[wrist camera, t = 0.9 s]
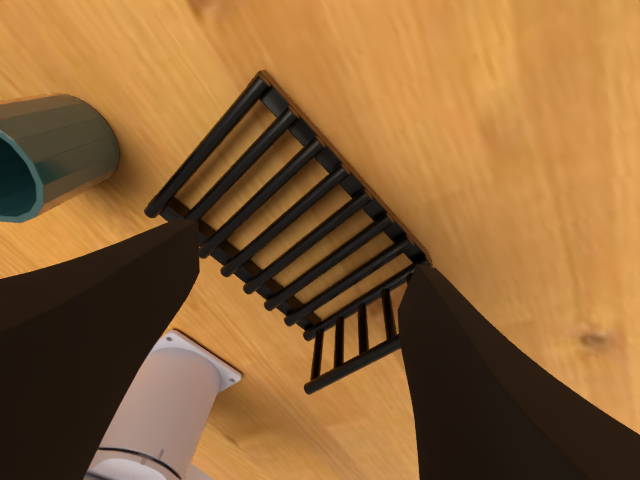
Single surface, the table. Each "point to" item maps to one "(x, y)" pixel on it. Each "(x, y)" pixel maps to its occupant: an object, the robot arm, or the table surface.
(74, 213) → the table surface
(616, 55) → the table surface
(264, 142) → the rack
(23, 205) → the cup
